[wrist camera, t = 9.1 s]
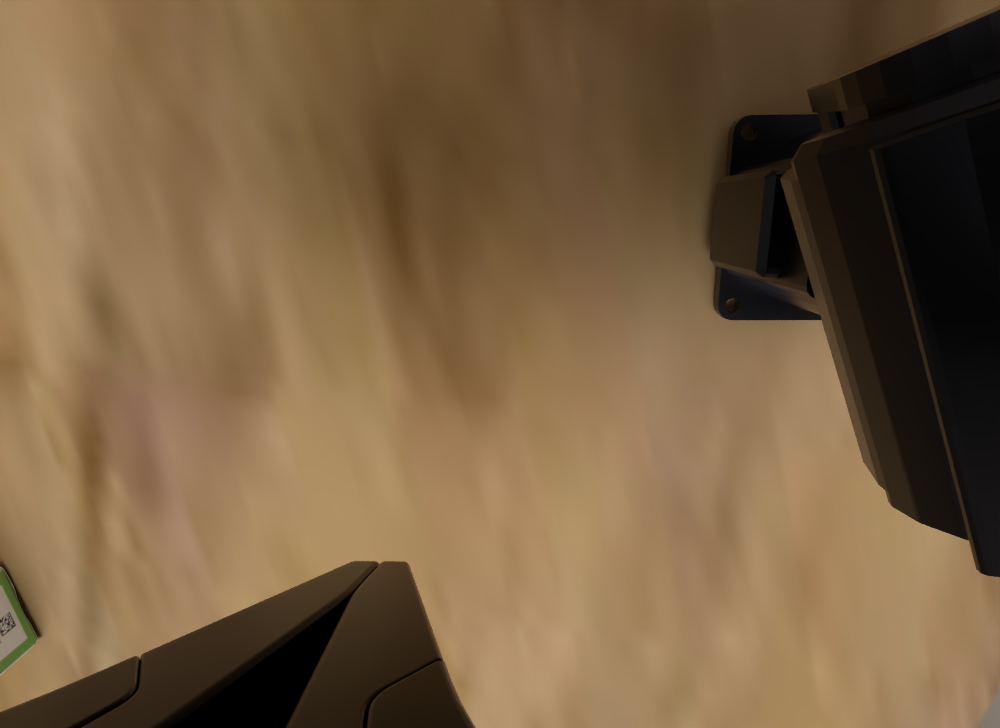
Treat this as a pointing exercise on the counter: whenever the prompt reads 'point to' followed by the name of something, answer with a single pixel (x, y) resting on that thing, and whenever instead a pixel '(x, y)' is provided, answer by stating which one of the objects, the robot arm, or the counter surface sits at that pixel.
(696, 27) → the counter surface
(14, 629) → the ink box
